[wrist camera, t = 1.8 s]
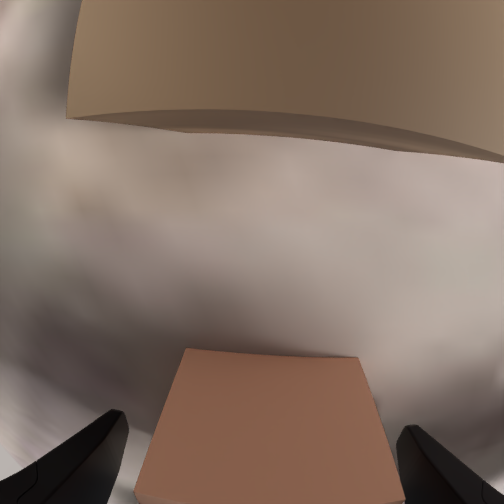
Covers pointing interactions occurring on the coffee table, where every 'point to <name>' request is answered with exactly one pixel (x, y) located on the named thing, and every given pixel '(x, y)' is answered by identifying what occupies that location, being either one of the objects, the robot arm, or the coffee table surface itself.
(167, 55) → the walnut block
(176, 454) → the terracotta block
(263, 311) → the coffee table surface
